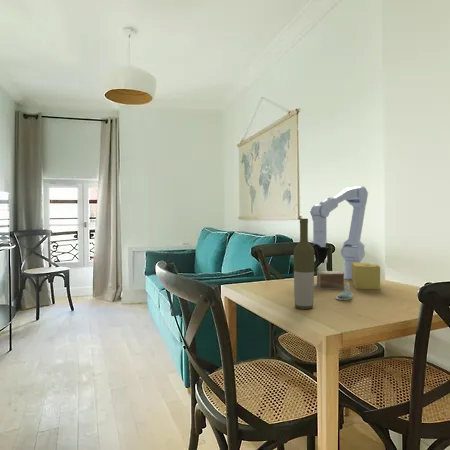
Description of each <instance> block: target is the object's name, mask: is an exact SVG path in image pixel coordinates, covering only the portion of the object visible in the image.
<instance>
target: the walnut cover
mask: <svg viewBox="0 0 450 450" xmlns="http://www.w3.org/2000/svg"><path fill="white" fill-rule="evenodd" d="M316 284H317V285H318V287H319V288H344V284H345V278H344V273H343V271H341V270H339V271H338V270H335V271H333V270H324V271H323V270H317V271H316Z"/></svg>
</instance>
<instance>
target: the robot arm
mask: <svg viewBox="0 0 450 450" xmlns="http://www.w3.org/2000/svg"><path fill="white" fill-rule="evenodd" d="M368 196H369V192H368V190H367V188H366V187H365V186H363V185H362V186H351V187H345V188H342V191H340V192H339V193H338V194H336V195H335V196H334V197H333V196H327V197H326V198H325V200H323V201H320V202H319V203H318V204H314V205H313V206H312V207H311V209H310V211H309V213H310V215H311V220H312V222H313V223H312V224H313V225H312V226H313V227H312V231H313V232H312V235H313V236H312V237H313V238H312V239H313V240H310V244H311V246H312V247H313V248H314V260H315V261H318V264H325V261H326V257H327V254H328V251H329V248H330V247H328V246H327V245H326V244H327V243H328V241H327V232H328V231H327V217H329V216H330V213H331V212H332V211H335V210H336V209H337V208H338V206H339V204H340V203H342V202H344V201H346V202H347V203H348V204H349V205H351V206H352V209H353V210H352V216H351V221H350V226H349V233H348V238H347V240H345V241H344V242H343V244H342V247H341V249H340V256H341V257H342V258H343V259H342V260H344V261H343V265H342V268H343V270H342V273H344V280H352V271H351V269H352V262H359V263H362V262H361V261H362V260H363V259H364V257H365V253H366V252H365V244H364V243H363V242H362V241H361V239H362V238H361V237H362V231H363V230H362V229H363V227H364V226H363V225H364V218H365V214H366V212H365V211H366V205H367V202H368Z"/></svg>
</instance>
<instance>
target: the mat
mask: <svg viewBox="0 0 450 450" xmlns="http://www.w3.org/2000/svg"><path fill="white" fill-rule="evenodd" d="M314 287H316V288H317V289H319V290H320V289H329V290H331V289H332V290H333V289H334V290H337V289H338V290H339V289H340V290H345V287H346V283H344V288H319V287H318V285H317V283H314ZM350 289H351V287H350V288H349V290H350Z"/></svg>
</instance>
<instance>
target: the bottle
mask: <svg viewBox="0 0 450 450" xmlns="http://www.w3.org/2000/svg"><path fill="white" fill-rule="evenodd" d="M308 237H309V218H299V242H298V243H297V244H296V245H295V247H293V251H292V252H293V283H294V284H293V289H294V290H293V292H294V297H293V298H294V307H295V308H297V309H300V310H310V309H313V307H314V301H315V300H314V299H315V298H314V294H315V293H314V291H315V254H314V248H313V247H312V246H311V245H312V243H311V242H309V238H308Z"/></svg>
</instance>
